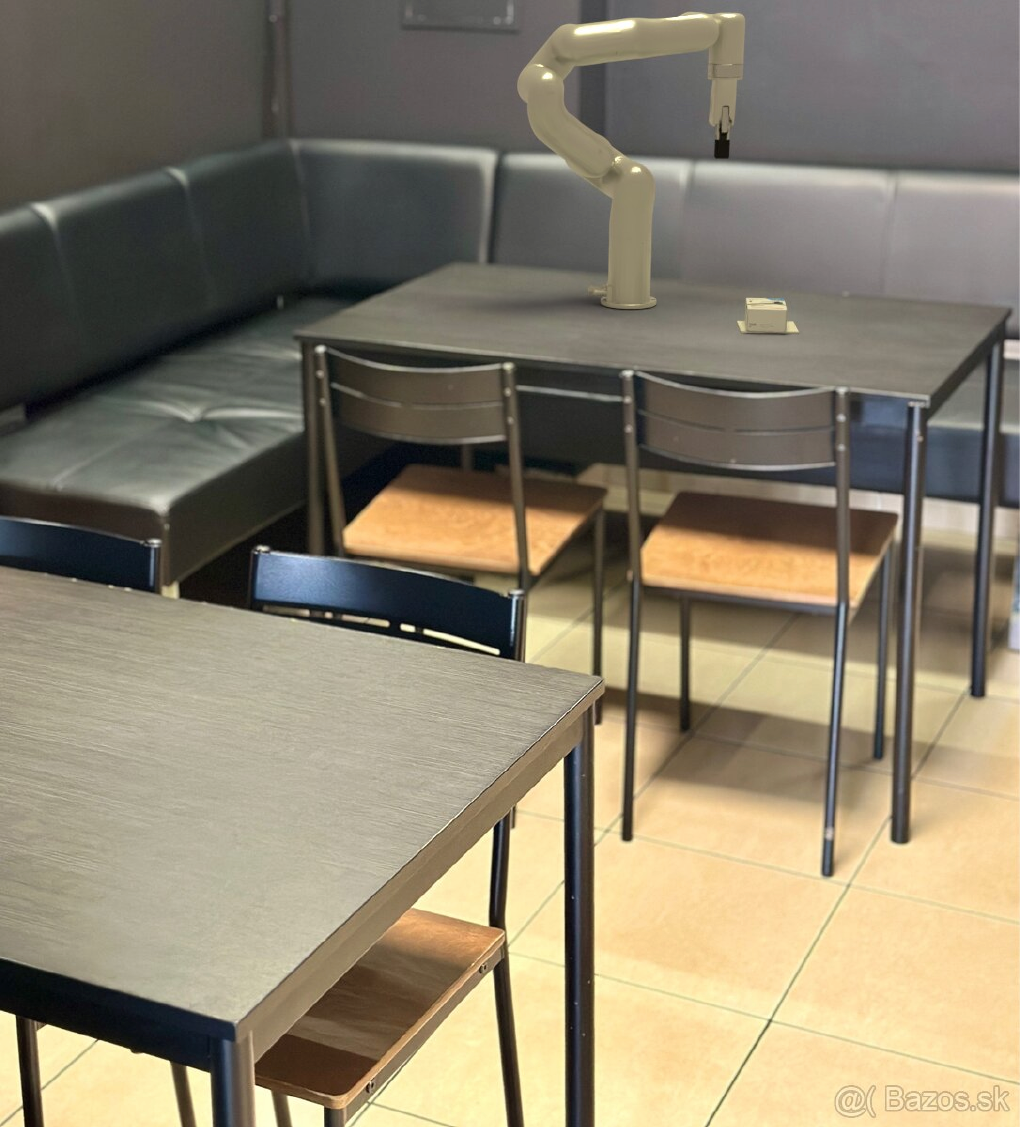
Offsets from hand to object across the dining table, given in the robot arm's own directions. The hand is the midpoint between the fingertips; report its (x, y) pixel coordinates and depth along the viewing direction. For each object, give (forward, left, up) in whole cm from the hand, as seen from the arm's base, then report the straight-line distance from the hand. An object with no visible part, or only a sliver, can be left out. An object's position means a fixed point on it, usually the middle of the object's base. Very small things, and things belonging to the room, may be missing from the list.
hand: (721, 158), depth 354 cm
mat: (+9, -28, -32) cm, 44 cm away
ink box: (+9, -22, -29) cm, 38 cm away
